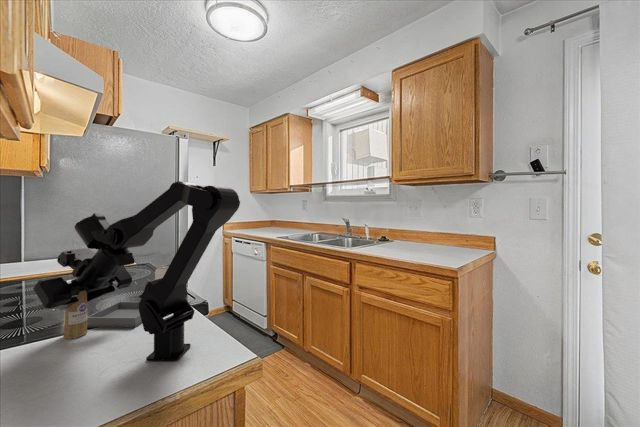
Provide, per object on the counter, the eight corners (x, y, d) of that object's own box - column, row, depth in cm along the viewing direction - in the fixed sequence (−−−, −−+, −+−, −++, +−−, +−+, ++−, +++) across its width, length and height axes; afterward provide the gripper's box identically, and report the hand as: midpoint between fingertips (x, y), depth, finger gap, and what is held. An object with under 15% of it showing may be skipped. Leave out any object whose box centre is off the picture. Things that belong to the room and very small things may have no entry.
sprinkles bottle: (78, 339, 67) (78, 282, 67) (57, 339, 67) (57, 282, 67) (92, 331, 72) (92, 277, 71) (73, 331, 71) (73, 277, 71)
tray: (135, 327, 74) (135, 318, 74) (84, 327, 74) (84, 317, 74) (162, 309, 87) (162, 301, 87) (119, 309, 87) (119, 301, 87)
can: (155, 300, 95) (156, 265, 95) (177, 298, 98) (177, 263, 98) (153, 306, 89) (153, 268, 89) (176, 304, 92) (176, 267, 92)
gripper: (124, 234, 77) (94, 272, 80) (39, 242, 59) (5, 290, 62) (147, 266, 74) (115, 303, 78) (65, 283, 57) (29, 331, 60)
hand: (71, 305), depth 69 cm, fingers closed on sprinkles bottle, 4 cm apart
